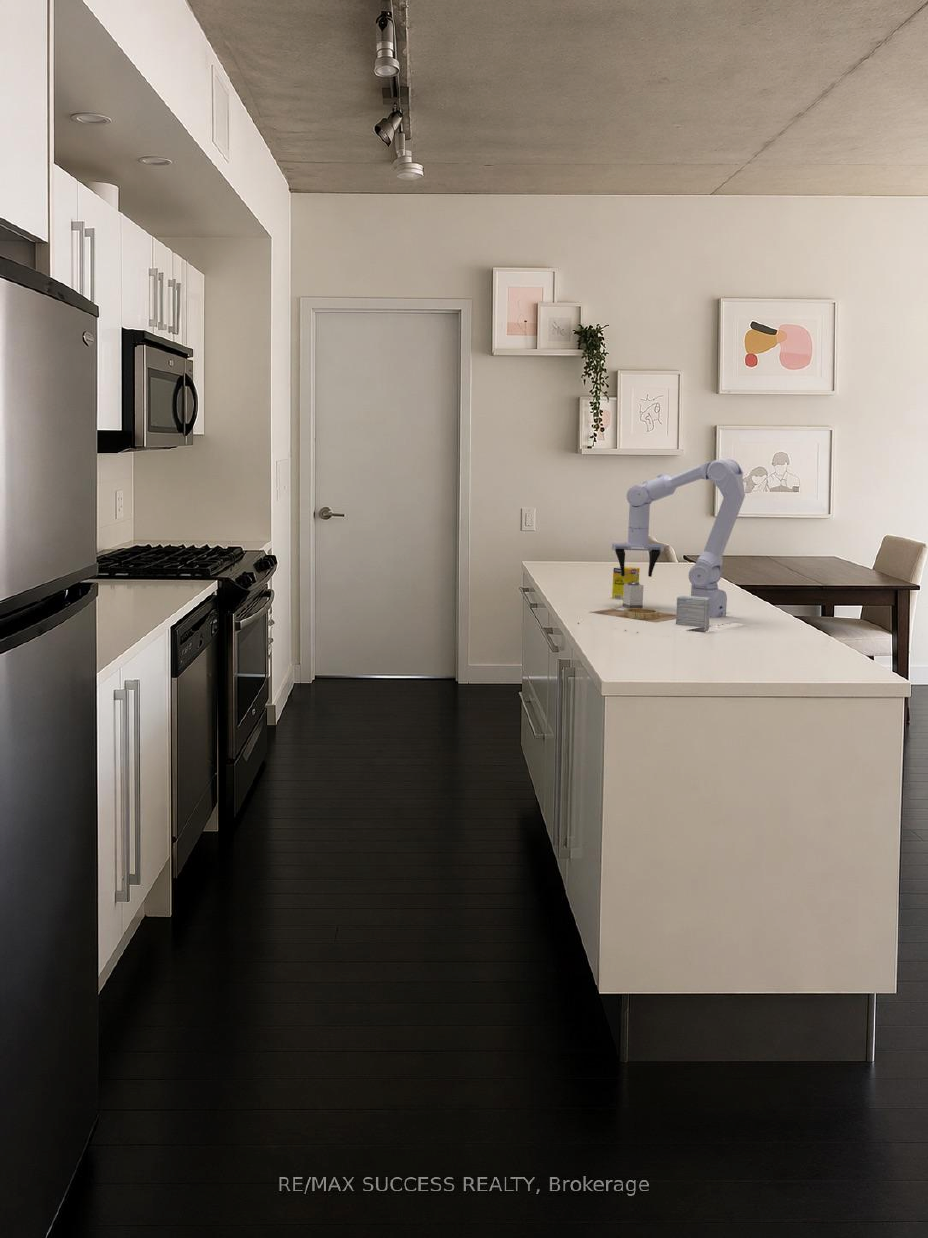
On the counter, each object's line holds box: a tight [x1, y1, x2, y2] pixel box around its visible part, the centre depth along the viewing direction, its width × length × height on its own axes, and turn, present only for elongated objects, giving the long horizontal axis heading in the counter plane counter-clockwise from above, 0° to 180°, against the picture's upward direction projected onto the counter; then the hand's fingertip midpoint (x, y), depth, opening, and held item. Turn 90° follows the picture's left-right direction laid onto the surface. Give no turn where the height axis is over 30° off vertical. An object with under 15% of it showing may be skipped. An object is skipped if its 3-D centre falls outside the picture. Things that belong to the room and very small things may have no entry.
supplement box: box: [611, 565, 641, 601], centre depth 341 cm, size 6×6×11 cm
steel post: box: [622, 582, 645, 609], centre depth 316 cm, size 4×4×8 cm
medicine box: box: [675, 595, 710, 633], centre depth 295 cm, size 8×4×9 cm, turn 65°
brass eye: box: [624, 608, 660, 620], centre depth 306 cm, size 9×9×2 cm
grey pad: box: [614, 607, 625, 612], centre depth 317 cm, size 7×7×1 cm
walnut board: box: [589, 606, 676, 623], centre depth 311 cm, size 22×16×2 cm
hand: (636, 575), depth 323 cm, fingers open, 7 cm apart
